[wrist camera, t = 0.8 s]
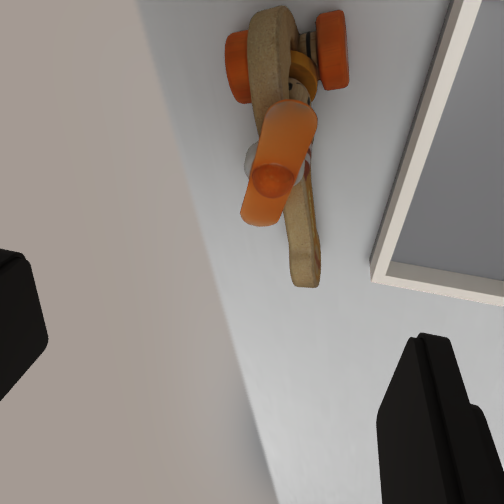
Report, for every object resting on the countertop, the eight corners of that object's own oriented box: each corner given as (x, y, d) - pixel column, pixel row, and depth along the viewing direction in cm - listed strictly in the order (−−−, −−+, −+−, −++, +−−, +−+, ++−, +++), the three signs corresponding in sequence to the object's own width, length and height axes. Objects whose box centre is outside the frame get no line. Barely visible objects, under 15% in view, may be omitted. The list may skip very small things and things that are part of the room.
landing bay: (458, -25, 26) (472, -25, 23) (678, -3, 25) (721, 0, 22) (369, 260, 39) (371, 282, 36) (508, 285, 38) (521, 310, 35)
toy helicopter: (344, -11, 28) (341, -3, 17) (358, 243, 39) (362, 350, 27) (231, 13, 30) (162, 35, 19) (275, 247, 41) (247, 349, 30)
